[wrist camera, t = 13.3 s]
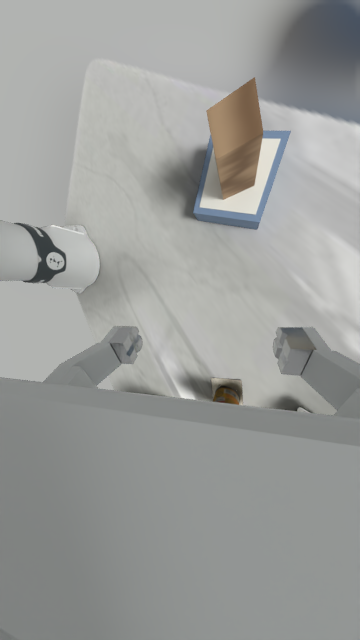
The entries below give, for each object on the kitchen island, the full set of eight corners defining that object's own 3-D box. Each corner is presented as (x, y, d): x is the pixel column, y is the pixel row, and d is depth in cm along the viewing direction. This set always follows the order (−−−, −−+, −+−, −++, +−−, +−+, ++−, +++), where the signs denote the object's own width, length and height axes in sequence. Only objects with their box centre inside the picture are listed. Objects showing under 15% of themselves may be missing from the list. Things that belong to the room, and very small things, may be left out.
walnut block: (223, 199, 28) (215, 159, 19) (217, 168, 27) (206, 110, 18) (254, 185, 26) (263, 133, 17) (248, 151, 25) (254, 77, 16)
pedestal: (198, 220, 34) (192, 212, 30) (214, 149, 30) (211, 130, 26) (257, 229, 31) (259, 222, 27) (283, 151, 27) (291, 129, 23)
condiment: (214, 406, 42) (205, 449, 31) (211, 377, 41) (201, 412, 30) (243, 410, 40) (245, 459, 29) (241, 379, 38) (242, 419, 27)
